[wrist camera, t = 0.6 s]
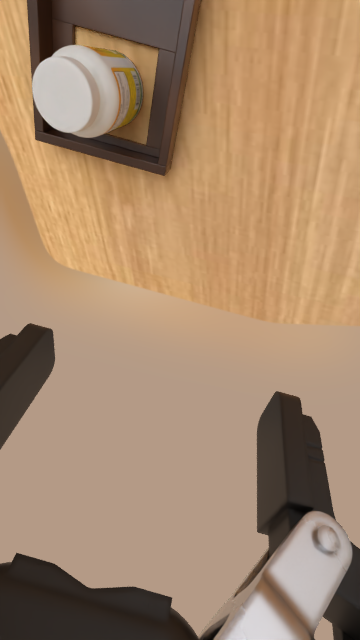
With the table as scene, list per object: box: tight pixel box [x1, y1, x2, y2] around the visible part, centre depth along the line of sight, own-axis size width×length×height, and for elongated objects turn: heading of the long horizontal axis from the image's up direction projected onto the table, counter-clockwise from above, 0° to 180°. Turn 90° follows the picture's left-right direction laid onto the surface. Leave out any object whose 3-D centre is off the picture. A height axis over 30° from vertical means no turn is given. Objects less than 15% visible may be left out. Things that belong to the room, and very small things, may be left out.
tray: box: [27, 0, 201, 176], centre depth 25 cm, size 18×12×2 cm, turn 168°
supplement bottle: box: [32, 45, 143, 138], centre depth 24 cm, size 5×5×10 cm
